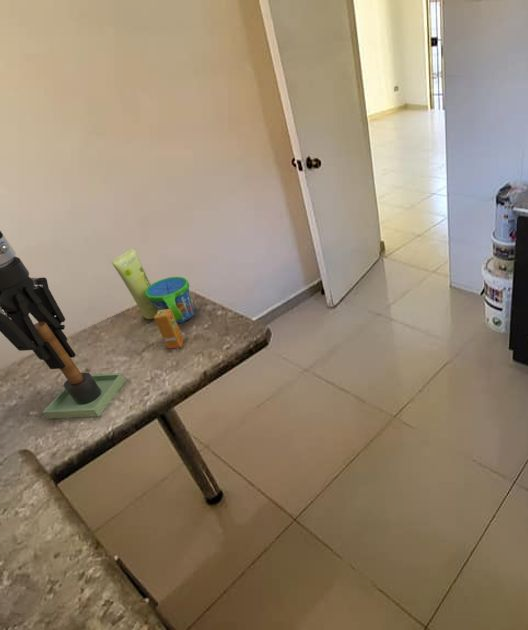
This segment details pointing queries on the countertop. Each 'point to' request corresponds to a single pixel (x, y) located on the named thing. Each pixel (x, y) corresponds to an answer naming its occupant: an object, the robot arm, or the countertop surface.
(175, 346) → the supplement box
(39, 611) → the countertop surface
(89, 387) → the brush
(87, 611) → the countertop surface
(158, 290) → the snack cup
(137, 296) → the tube
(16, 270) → the robot arm
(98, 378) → the tray
